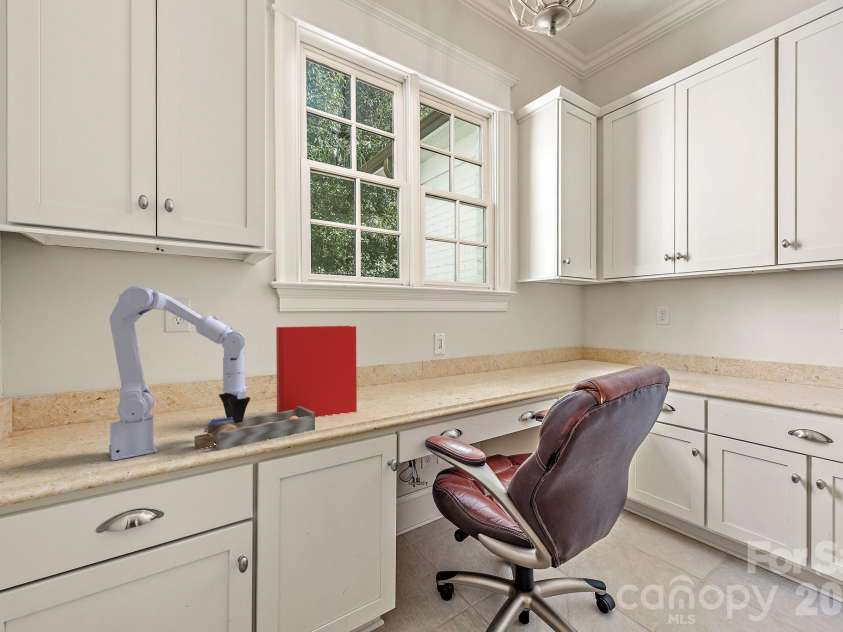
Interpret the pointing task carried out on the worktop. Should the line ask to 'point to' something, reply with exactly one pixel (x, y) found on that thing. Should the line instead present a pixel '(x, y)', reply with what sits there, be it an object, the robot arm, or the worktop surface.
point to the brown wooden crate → (204, 440)
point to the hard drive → (220, 420)
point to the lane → (261, 427)
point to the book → (316, 369)
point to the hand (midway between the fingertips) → (234, 419)
